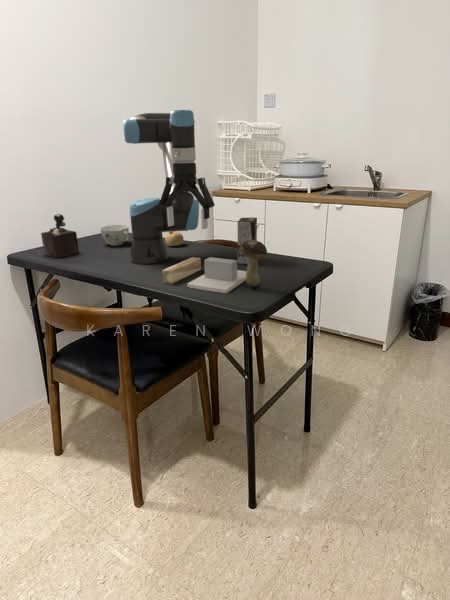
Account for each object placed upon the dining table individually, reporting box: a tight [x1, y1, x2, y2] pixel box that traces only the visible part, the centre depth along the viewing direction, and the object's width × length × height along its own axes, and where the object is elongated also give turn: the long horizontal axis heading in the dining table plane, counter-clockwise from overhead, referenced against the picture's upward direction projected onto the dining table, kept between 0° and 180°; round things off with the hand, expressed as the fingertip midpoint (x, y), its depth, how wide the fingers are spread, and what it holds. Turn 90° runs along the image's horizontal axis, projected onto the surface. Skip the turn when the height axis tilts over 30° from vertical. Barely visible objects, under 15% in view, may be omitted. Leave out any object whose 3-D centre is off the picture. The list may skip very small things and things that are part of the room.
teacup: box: [99, 224, 130, 247], centre depth 189 cm, size 15×12×8 cm
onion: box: [164, 231, 184, 247], centre depth 186 cm, size 8×8×7 cm
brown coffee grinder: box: [40, 213, 80, 259], centre depth 172 cm, size 16×11×18 cm
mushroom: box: [240, 240, 268, 290], centre depth 129 cm, size 9×9×15 cm
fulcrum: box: [186, 256, 247, 294], centre depth 138 cm, size 14×20×7 cm
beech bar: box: [161, 256, 202, 285], centre depth 145 cm, size 4×18×4 cm, turn 151°
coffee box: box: [237, 217, 258, 265], centre depth 159 cm, size 9×6×16 cm
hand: (187, 227), depth 144 cm, fingers open, 13 cm apart
